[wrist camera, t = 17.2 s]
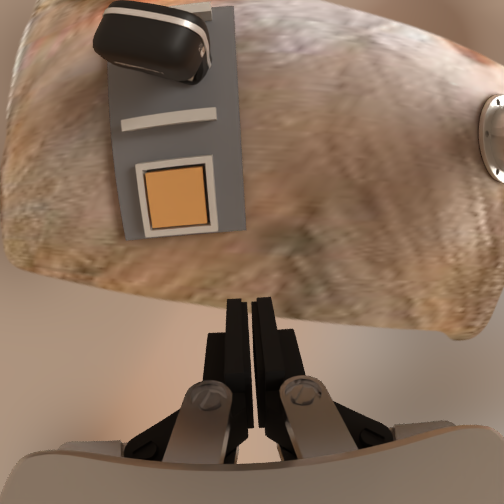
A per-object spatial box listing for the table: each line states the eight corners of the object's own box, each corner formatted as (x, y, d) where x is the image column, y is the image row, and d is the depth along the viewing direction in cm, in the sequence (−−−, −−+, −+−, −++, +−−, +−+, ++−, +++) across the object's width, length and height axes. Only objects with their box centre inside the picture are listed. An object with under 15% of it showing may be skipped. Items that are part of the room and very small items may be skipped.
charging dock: (233, 11, 22) (234, -5, 18) (245, 225, 31) (248, 239, 27) (113, 29, 21) (98, 18, 18) (130, 235, 30) (118, 249, 26)
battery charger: (130, 77, 23) (74, 50, 12) (145, 41, 21) (101, -5, 11) (199, 96, 24) (181, 72, 14) (216, 59, 23) (209, 14, 12)
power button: (202, 165, 26) (201, 167, 25) (207, 219, 28) (206, 223, 27) (148, 171, 26) (145, 173, 25) (155, 224, 28) (152, 228, 27)
